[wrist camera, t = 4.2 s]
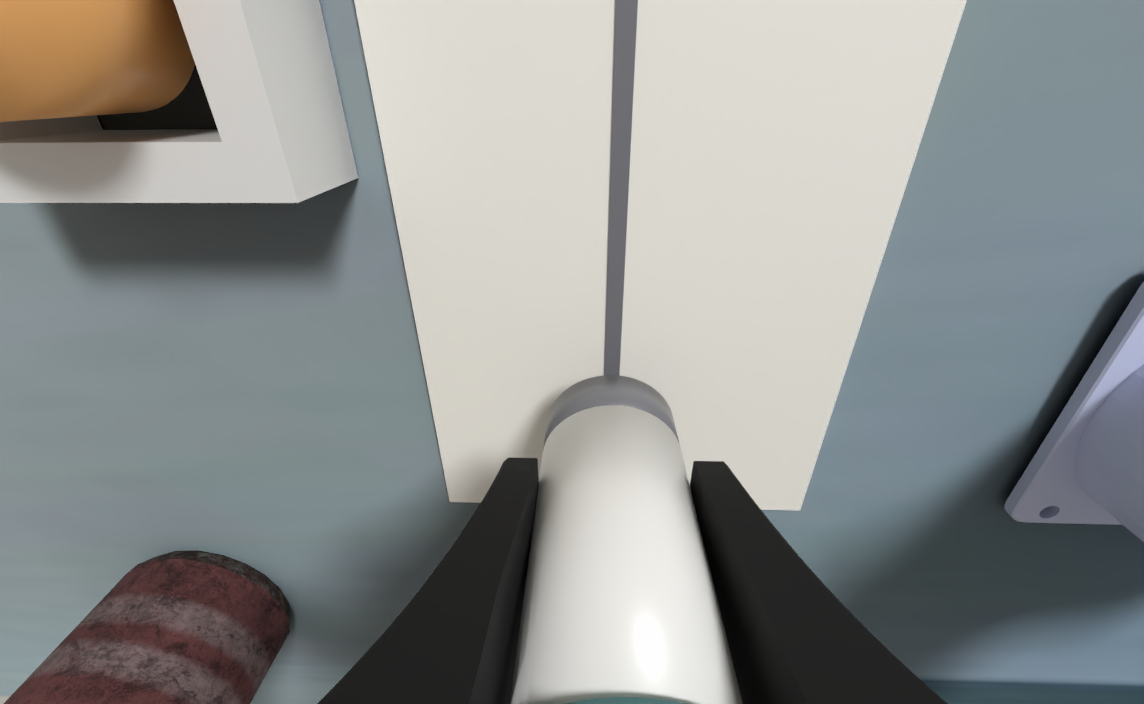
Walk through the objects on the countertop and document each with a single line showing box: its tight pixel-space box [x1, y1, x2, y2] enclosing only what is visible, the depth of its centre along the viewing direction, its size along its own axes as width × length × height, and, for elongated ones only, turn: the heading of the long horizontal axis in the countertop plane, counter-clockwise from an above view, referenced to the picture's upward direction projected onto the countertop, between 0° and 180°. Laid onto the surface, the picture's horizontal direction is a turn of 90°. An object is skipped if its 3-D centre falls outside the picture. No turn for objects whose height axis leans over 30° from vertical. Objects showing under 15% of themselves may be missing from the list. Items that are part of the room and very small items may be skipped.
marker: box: [510, 375, 743, 704], centre depth 9 cm, size 3×3×8 cm
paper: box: [354, 0, 967, 510], centre depth 11 cm, size 11×18×1 cm, turn 0°
